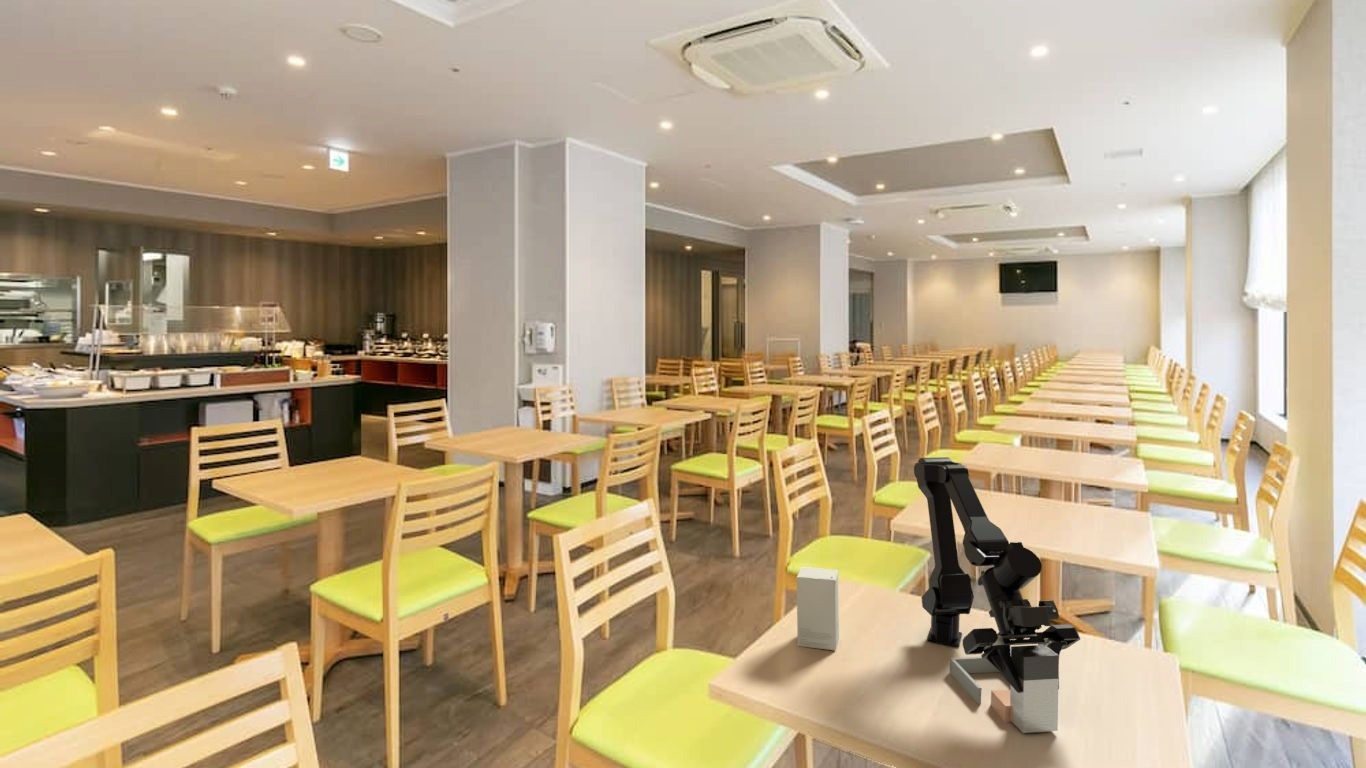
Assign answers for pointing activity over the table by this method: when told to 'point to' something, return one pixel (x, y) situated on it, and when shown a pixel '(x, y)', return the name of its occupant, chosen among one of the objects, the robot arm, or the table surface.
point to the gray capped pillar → (1035, 689)
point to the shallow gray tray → (970, 665)
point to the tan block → (1001, 703)
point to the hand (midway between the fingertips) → (1038, 691)
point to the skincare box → (817, 608)
